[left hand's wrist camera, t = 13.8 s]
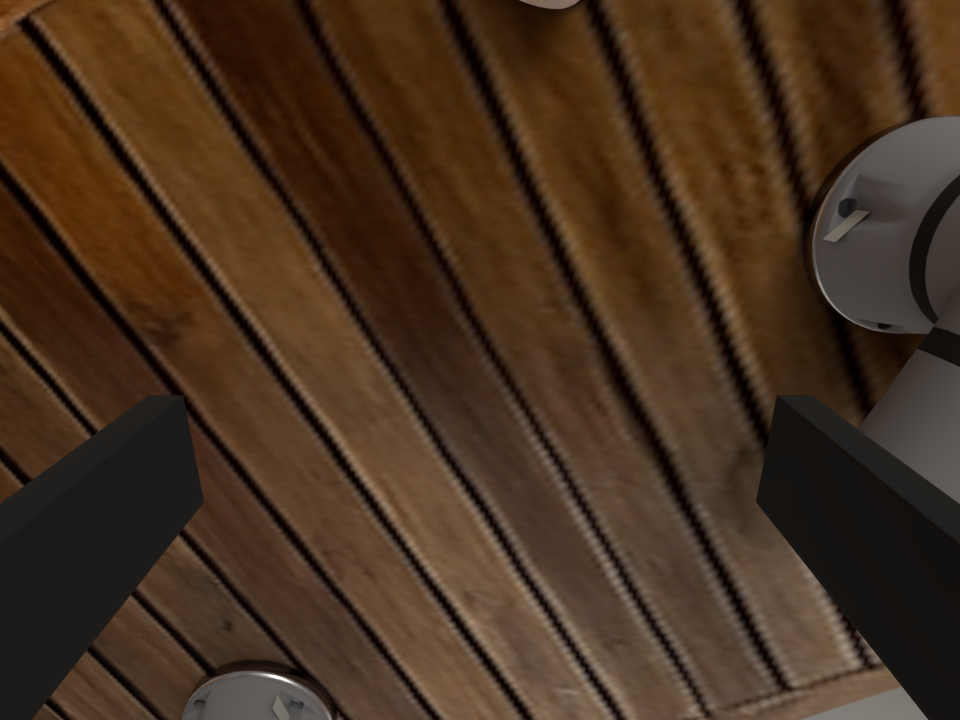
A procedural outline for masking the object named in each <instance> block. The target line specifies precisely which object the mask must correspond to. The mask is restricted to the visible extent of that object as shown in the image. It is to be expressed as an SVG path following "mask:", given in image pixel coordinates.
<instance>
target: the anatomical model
mask: <svg viewBox="0 0 960 720" xmlns="http://www.w3.org/2000/svg"><path fill="white" fill-rule="evenodd" d="M520 1H523V2H525V3H528V4H531V5H535V6H538V7H543V8H549V9H563V8H567V7H570V6H572V5H574V4H576V3H577V2H578V1H579V0H520Z"/></svg>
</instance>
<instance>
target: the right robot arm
mask: <svg viewBox="0 0 960 720" xmlns="http://www.w3.org/2000/svg"><path fill="white" fill-rule="evenodd" d="M182 720H337V713H336V709H335V706H334V704H333V701H332V700H331V698H330V696H329V695H328V693H327V692H326V691H325V690H324V689H323V688H322V687H321V686H320V685H319V684H318V683H317V682H316V681H315V680H313V679H312V678H311V677H309V676H307V675H306V674H304V673H302V672H300V671H298V670H296V669H294V668H291V667H288V666H285V665H282V664H278V663H273V662H267V661H241V662H235V663H231V664H227V665H224V666H222V667H219V668H217V669H215V670H213V671H212V672H210V673H209V674H207V675H206V676H205V677H204V678H203V679H202V680H201V681H200V682H199V683H198V684H197V686H196V687H195V689H194V691H193V693H192V695H191V696H190V698H189V700H188V702H187V704H186V706H185V708H184V711H183V715H182Z"/></svg>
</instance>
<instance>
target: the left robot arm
mask: <svg viewBox="0 0 960 720" xmlns="http://www.w3.org/2000/svg"><path fill="white" fill-rule="evenodd" d="M804 262H805V267H806V271H807V274H808V278H809V280H810V283H811V285H812V287H813V289H814V290H815V292H816V294H817V295H818V297H819V298H820V299H821V300H822V302H823V303H824V304H825V305H826V306H827V307H828V308H829V309H831V310H832V311H833V312H835V313H836V314H838V315H839V316H841V317H842V318H845V319H847V320H849V321H851V322H853V323H856V324H858V325H860V326H862V327H865V328H868V329H871V330H875V331H880V332H887V333H898V334H910V333H913V334H925V339H924V340H923V342H922V343H921V344H920V346H919V347H918V348H917V349H916V350H915V352H914V353H913V354H912V356H911V357H910V358H909V360H908V361H907V363H906V364H905V365H904V367H903V368H902V369H901V371H900V372H899V374H898V375H897V376H896V378H895V379H894V381H893V382H892V383H891V385H890V386H889V387H888V389H887V390H886V392H885V393H884V394H883V396H882V397H881V398H880V400H879V401H878V403H877V404H876V405H875V407H874V408H873V409H872V411H871V412H870V413H869V415H868V416H867V417H866V419H865V420H864V421H863V423H862V424H861V425H860V426H859V428H858V429H857V428H855V427H854V426H853V425H851V424H850V423H849V422H847V421H846V420H845V419H843V418H842V417H840V416H839V415H838V414H836V413H835V412H834V411H832V410H831V409H829V408H828V407H827V406H825V405H824V404H823V403H821V402H820V401H819V400H817V399H816V398H814V397H813V396H812V395H777V398H776V403H775V408H774V413H773V419H772V424H771V429H770V434H769V439H768V444H767V449H766V454H765V459H764V464H763V469H762V475H761V480H760V485H759V490H758V495H757V500H756V502H757V504H758V505H759V506H760V507H761V509H762V510H763V511H764V513H765V514H766V515H767V516H768V518H769V519H770V520H771V521H772V523H773V524H774V525H775V526H776V528H777V529H778V530H779V532H780V533H781V534H782V535H783V537H784V538H785V539H786V540H787V542H788V543H789V544H790V545H791V547H792V548H793V549H794V550H795V552H796V553H797V554H798V556H799V557H800V558H801V559H802V561H803V562H804V563H805V564H806V566H807V567H808V568H809V569H810V571H811V572H812V573H813V574H814V576H815V577H816V578H817V580H818V581H819V582H820V583H821V585H822V586H823V587H824V588H825V590H826V591H827V592H828V593H829V595H830V596H831V597H832V599H833V600H834V601H835V602H836V604H837V605H838V606H839V607H840V609H841V610H842V611H843V612H844V614H845V615H846V616H847V617H848V619H849V620H850V621H851V623H852V624H853V625H854V626H855V628H856V629H857V630H858V631H859V633H860V634H861V635H862V636H863V638H864V639H865V640H866V641H867V643H868V644H869V645H870V647H871V648H872V649H873V650H874V652H875V653H876V654H877V655H878V657H879V658H880V659H881V660H882V662H883V663H884V664H885V666H886V667H887V668H888V669H889V671H890V672H891V673H892V674H893V676H894V677H895V678H896V679H897V681H898V682H899V683H900V684H901V686H902V687H903V688H904V689H905V691H906V692H907V693H908V695H909V696H910V697H911V698H912V700H913V701H914V702H915V703H916V705H917V706H918V707H919V708H920V710H921V711H922V712H923V714H924V715H925V716H926V717H927V719H928V720H960V116H938V117H926V118H919V119H914V120H909V121H906V122H902V123H899V124H897V125H894V126H892V127H889V128H887V129H885V130H883V131H881V132H879V133H877V134H875V135H874V136H872V137H870V138H869V139H867V140H866V141H865V142H863V143H862V144H860V145H859V146H858V147H856V148H855V149H854V150H853V151H852V152H851V153H849V154H848V155H847V156H846V157H845V158H844V159H843V160H842V161H841V162H840V163H839V165H838V166H837V167H836V168H835V169H834V170H833V172H832V173H831V174H830V176H829V177H828V178H827V180H826V181H825V183H824V185H823V186H822V188H821V189H820V191H819V193H818V195H817V197H816V199H815V201H814V203H813V206H812V208H811V211H810V214H809V217H808V220H807V225H806V229H805V236H804ZM939 357H940V358H939ZM941 358H942V359H941ZM943 359H944V360H943ZM945 360H946V361H945ZM947 361H948V362H947ZM950 362H951V363H950ZM952 363H953V364H952ZM954 364H955V365H954ZM956 365H957V366H956ZM203 502H204V500H203V495H202V490H201V485H200V480H199V475H198V469H197V464H196V459H195V454H194V449H193V444H192V439H191V434H190V429H189V424H188V419H187V413H186V408H185V403H184V398H183V395H148V396H147V397H146V398H144V399H143V400H141V401H140V402H139V403H137V404H136V405H135V406H133V407H132V408H131V409H129V410H128V411H126V412H125V413H124V414H122V415H121V416H120V417H118V418H117V419H115V420H114V421H113V422H111V423H110V424H109V425H107V426H106V427H105V428H103V429H102V430H100V431H99V432H98V433H96V434H95V435H94V436H92V437H91V438H90V439H88V440H87V441H85V442H84V443H83V444H81V445H80V446H79V447H77V448H76V449H74V450H73V451H72V452H70V453H69V454H68V455H66V456H65V457H64V458H62V459H61V460H59V461H58V462H57V463H55V464H54V465H53V466H51V467H50V468H49V469H47V470H46V471H44V472H43V473H42V474H40V475H39V476H38V477H36V478H35V479H33V480H32V481H31V482H29V483H28V484H27V485H25V486H24V487H23V488H21V489H20V490H18V491H17V492H16V493H14V494H13V495H12V496H10V497H9V498H7V499H6V500H5V501H3V502H2V503H1V504H0V720H32V719H33V717H34V716H35V715H36V714H37V712H38V711H39V710H40V708H41V707H42V706H43V705H44V703H45V702H46V701H47V700H48V698H49V697H50V696H51V695H52V693H53V692H54V691H55V690H56V688H57V687H58V686H59V684H60V683H61V682H62V681H63V679H64V678H65V677H66V676H67V674H68V673H69V672H70V671H71V669H72V668H73V667H74V666H75V664H76V663H77V662H78V660H79V659H80V658H81V657H82V655H83V654H84V653H85V652H86V650H87V649H88V648H89V647H90V645H91V644H92V643H93V641H94V640H95V639H96V638H97V636H98V635H99V634H100V633H101V631H102V630H103V629H104V628H105V626H106V625H107V624H108V623H109V621H110V620H111V619H112V617H113V616H114V615H115V614H116V612H117V611H118V610H119V609H120V607H121V606H122V605H123V604H124V602H125V601H126V600H127V599H128V597H129V596H130V595H131V593H132V592H133V591H134V590H135V588H136V587H137V586H138V585H139V583H140V582H141V581H142V580H143V578H144V577H145V576H146V574H147V573H148V572H149V571H150V569H151V568H152V567H153V566H154V564H155V563H156V562H157V561H158V559H159V558H160V557H161V556H162V554H163V553H164V552H165V550H166V549H167V548H168V547H169V545H170V544H171V543H172V542H173V540H174V539H175V538H176V537H177V535H178V534H179V533H180V532H181V530H182V529H183V528H184V526H185V525H186V524H187V523H188V521H189V520H190V519H191V518H192V516H193V515H194V514H195V513H196V511H197V510H198V509H199V507H200V506H201V505H202V504H203Z"/></svg>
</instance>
